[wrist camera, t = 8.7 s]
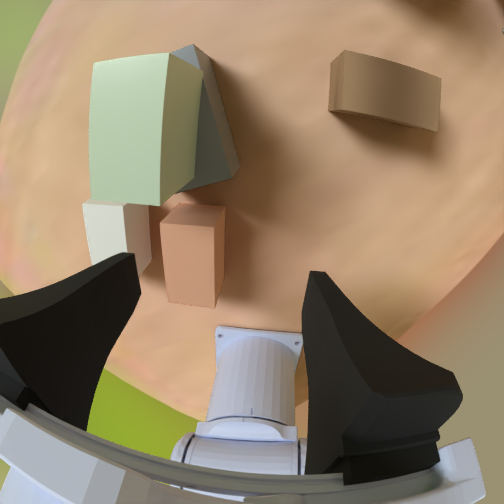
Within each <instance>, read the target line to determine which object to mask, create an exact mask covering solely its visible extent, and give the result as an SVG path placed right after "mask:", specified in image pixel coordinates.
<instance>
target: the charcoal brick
mask: <svg viewBox="0 0 504 504" xmlns="http://www.w3.org/2000/svg"><path fill="white" fill-rule="evenodd" d="M171 54H173V55H175V56H177V57H179V58H180V59H182V60H184V61H186V62H188V63H190V64H191V65H193V66H195V67H197V68H198V69H200V70H202V71H203V79H202V88H201V97H200V107H199V118H198V130H197V142H196V157H195V173H194V178H193V179H192V180H191V181H190V182H188V183H187V184H186V185H185V186H183V187H182V188H181V189H180V190H179V191H177V192H176V193H180V192H183V191H187V190H190V189H194V188H197V187H201V186H205V185H208V184H212V183H216V182H220V181H224V180H228V179H232V178H233V176H234V175H235V173H236V172H237V171H238V169H239V168H240V162H239V159H238V155H237V152H236V148H235V145H234V141H233V137H232V134H231V130H230V127H229V123H228V120H227V116H226V113H225V109H224V106H223V102H222V99H221V95H220V92H219V88H218V85H217V81H216V78H215V74H214V71H213V68H212V64H211V61H210V57H209V56H208V55H206V54H205V53H204V52H203V51H201V50H200V49H199V48H198V47H196V46H195V45H194V44H192V45H189V46H187V47H184V48H181V49H179V50H176V51H174V52H171ZM176 193H175V194H176Z"/></svg>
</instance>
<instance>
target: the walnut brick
mask: <svg viewBox="0 0 504 504" xmlns="http://www.w3.org/2000/svg"><path fill="white" fill-rule="evenodd" d="M440 100H441V78H439V77H436V76H434V75H431V74H428V73H426V72H423V71H420V70H417V69H414V68H411V67H408V66H405V65H402V64H399V63H395V62H392V61H388V60H385V59H381V58H377V57H373V56H369V55H365V54H361V53H356V52H351V51H346V50H344V51H343V52H342V53H341V54H340V55H339V56H338V57H337V58H336V59H334V60H333V61H332V62H331V72H330V90H329V105H328V111H334V112H340V113H346V114H352V115H358V116H363V117H368V118H373V119H378V120H382V121H387V122H391V123H395V124H399V125H403V126H407V127H411V128H417V129H423V130H428V131H433V132H438V125H439V114H440Z"/></svg>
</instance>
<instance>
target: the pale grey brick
mask: <svg viewBox="0 0 504 504" xmlns="http://www.w3.org/2000/svg"><path fill="white" fill-rule="evenodd" d="M82 206H83V214H84V222H85V228H86V235H87V241H88V247H89V252H90V257H91V262H92V266H93V265H95V264H97V263H99V262H101V261H103V260H105V259H107V258H109V257H111V256H113V255H116V254H118V253H121V252H127V253H135V259H136V265H137V271H138V277H140V275H141V274H142V273H143V271H144V270H145V269H146V267H147V266H148V265H149V263H150V262H151V261H152V253H151V241H150V226H149V206H148V205H143V204H133V203H121V202H110V201H97V200H91V199H89V200H88V201H86V202H84V203H82Z"/></svg>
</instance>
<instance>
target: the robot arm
mask: <svg viewBox="0 0 504 504" xmlns="http://www.w3.org/2000/svg"><path fill="white" fill-rule="evenodd" d="M140 295H141V288H140V283H139V277H138V271H137V265H136V259H135V253H127V252H121V253H118V254H116V255H113V256H111V257H109V258H107V259H105V260H103V261H101V262H99V263H97V264H95V265H93V266H91V267H89V268H87V269H85V270H83V271H81V272H79V273H76V274H74V275H72V276H70V277H68V278H66V279H64V280H62V281H59V282H57V283H54V284H52V285H49V286H47V287H44V288H41V289H38V290H34V291H31V292H28V293H25V294H21V295H17V296H13V297H8V298H2V299H0V458H1V459H2V460H4V461H5V462H6V463H7V464H8V465H10V466H11V468H10V470H9V472H8V475H7V477H6V479H5V482H4V484H3V487H2V489H1V492H0V504H473V503H475V502H477V501H478V500H480V499H482V498H484V497H485V495H486V492H485V487H484V483H483V478H482V474H481V471H480V466H479V463H478V459H477V456H476V452H475V449H474V445H473V443H472V439H471V438H470V437H468V438H466V439H462V440H460V441H457V442H454V443H450V444H448V445H445V446H443V447H441V448H439V449H437V445H436V442H437V441H438V440H439V439H440V434H439V431H438V429H439V428H440V427H441V426H442V425H443V424H444V423H445V422H446V421H447V420H448V419H449V418H450V417H451V416H452V415H453V414H454V413H455V412H456V410H457V409H458V408H459V406H460V404H461V402H462V399H463V394H462V391H461V389H460V387H459V385H458V382H457V380H456V378H455V376H454V373H453V372H451V371H449V370H446V369H444V368H442V367H440V366H438V365H435V364H433V363H431V362H429V361H427V360H425V359H423V358H421V357H420V356H418V355H416V354H414V353H413V352H411V351H410V350H408V349H406V348H405V347H403V346H402V345H400V344H399V343H397V342H396V341H395V340H393V339H392V338H390V337H389V336H388V335H386V334H385V333H384V332H382V331H381V330H380V329H379V328H378V327H377V326H375V325H374V324H373V323H372V322H371V321H370V320H368V319H367V318H366V317H365V316H364V315H363V314H362V313H361V312H360V311H359V310H358V309H357V308H356V307H355V306H354V305H353V304H352V302H351V301H350V300H349V299H348V298H347V297H346V296H345V295H344V294H343V292H342V291H341V290H340V289H339V288H338V286H337V285H336V284H335V283H334V282H333V280H332V279H331V278H330V277H329V276H328V275H327V273H326V272H319V271H310V273H309V278H308V283H307V289H306V293H305V298H304V303H303V308H302V334H300V333H288V332H276V331H264V330H254V329H244V328H235V327H226V326H218V327H216V330H215V339H216V364H217V371H216V376H215V380H214V385H213V389H212V394H211V398H210V403H209V407H208V412H207V416H206V421H205V422H198V424H197V428H196V432H195V433H194V432H188V433H186V434H185V435H184V436H183V437H182V438H181V439H180V440H179V441H178V442H177V444H176V445H175V447H174V449H173V452H172V455H171V459H170V460H169V459H165V458H161V457H157V456H153V455H150V454H146V453H143V452H140V451H137V450H133V449H130V448H127V447H124V446H121V445H118V444H116V443H113V442H110V441H108V440H105V439H103V438H100V437H98V436H95V435H92V434H90V433H88V432H86V431H87V425H88V419H89V414H90V409H91V405H92V402H93V398H94V394H95V391H96V388H97V384H98V381H99V379H100V376H101V373H102V370H103V368H104V365H105V363H106V360H107V358H108V356H109V354H110V352H111V350H112V348H113V346H114V344H115V343H116V341H117V339H118V337H119V336H120V334H121V332H122V331H123V329H124V327H125V326H126V324H127V322H128V320H129V319H130V317H131V315H132V314H133V312H134V310H135V307H136V305H137V303H138V300H139V298H140ZM219 334H221V335H219ZM303 345H304V353H305V360H306V368H307V375H308V387H309V407H308V408H309V410H308V436H307V438H299V440H298V435H297V427H296V426H295V380H294V375H295V371H296V368H297V364H298V361H299V357H300V353H301V350H302V346H303ZM297 440H298V443H297ZM154 480H156V481H154ZM157 481H160V482H163V483H167V484H170V485H166V484H163V483H160V482H157Z"/></svg>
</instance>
